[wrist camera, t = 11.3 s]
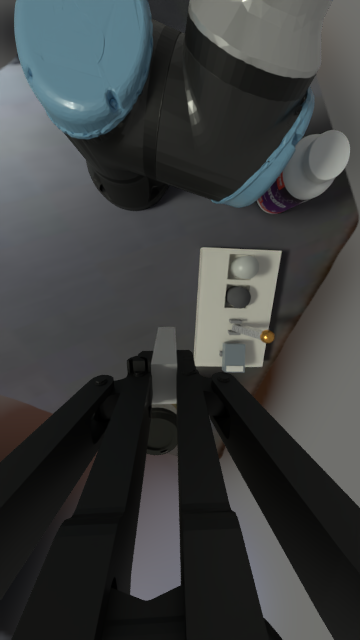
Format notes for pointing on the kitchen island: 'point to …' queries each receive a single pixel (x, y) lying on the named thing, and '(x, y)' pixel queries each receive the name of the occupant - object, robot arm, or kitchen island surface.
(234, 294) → the button black
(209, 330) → the panel
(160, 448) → the coffee cup
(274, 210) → the pill bottle
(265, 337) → the lever
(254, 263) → the button grey
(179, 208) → the kitchen island surface
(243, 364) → the slate blue block
